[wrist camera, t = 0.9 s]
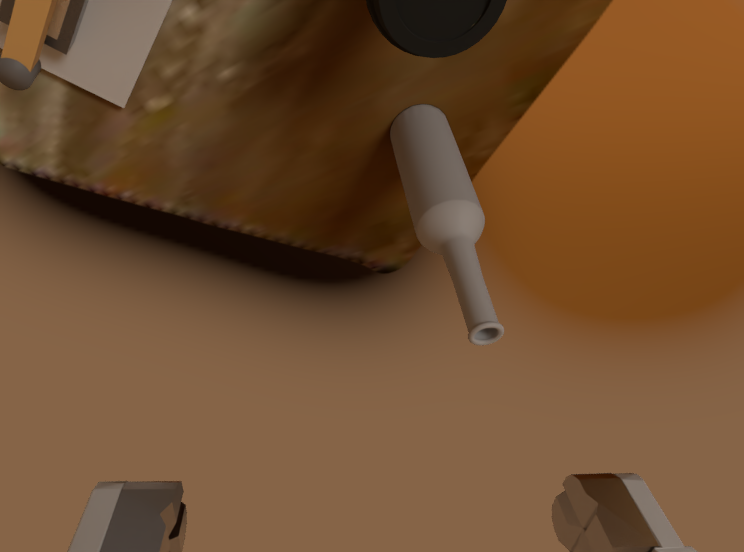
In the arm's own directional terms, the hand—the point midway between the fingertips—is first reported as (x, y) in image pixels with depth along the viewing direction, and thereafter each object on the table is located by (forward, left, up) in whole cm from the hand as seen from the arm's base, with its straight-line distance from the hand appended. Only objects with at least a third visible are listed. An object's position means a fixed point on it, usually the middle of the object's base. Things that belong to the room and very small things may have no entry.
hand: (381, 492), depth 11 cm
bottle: (+10, +21, -45) cm, 51 cm away
